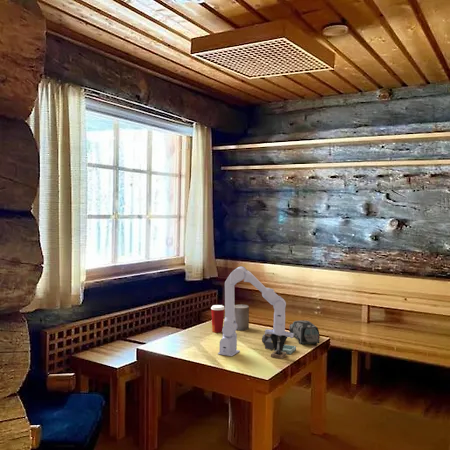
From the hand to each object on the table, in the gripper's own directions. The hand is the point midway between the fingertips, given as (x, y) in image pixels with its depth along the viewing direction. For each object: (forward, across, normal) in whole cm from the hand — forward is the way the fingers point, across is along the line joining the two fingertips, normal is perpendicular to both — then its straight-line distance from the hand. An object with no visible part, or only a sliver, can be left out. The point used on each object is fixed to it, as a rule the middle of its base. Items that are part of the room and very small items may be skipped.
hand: (278, 349), depth 247 cm
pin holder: (+3, 0, 0) cm, 3 cm away
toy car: (+3, -2, -34) cm, 35 cm away
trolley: (+3, +11, -22) cm, 25 cm away
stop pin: (+2, 0, 0) cm, 2 cm away
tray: (+3, 0, -10) cm, 10 cm away
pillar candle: (+4, +39, -38) cm, 54 cm away
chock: (+3, +9, -12) cm, 15 cm away
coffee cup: (+4, +48, -25) cm, 54 cm away
